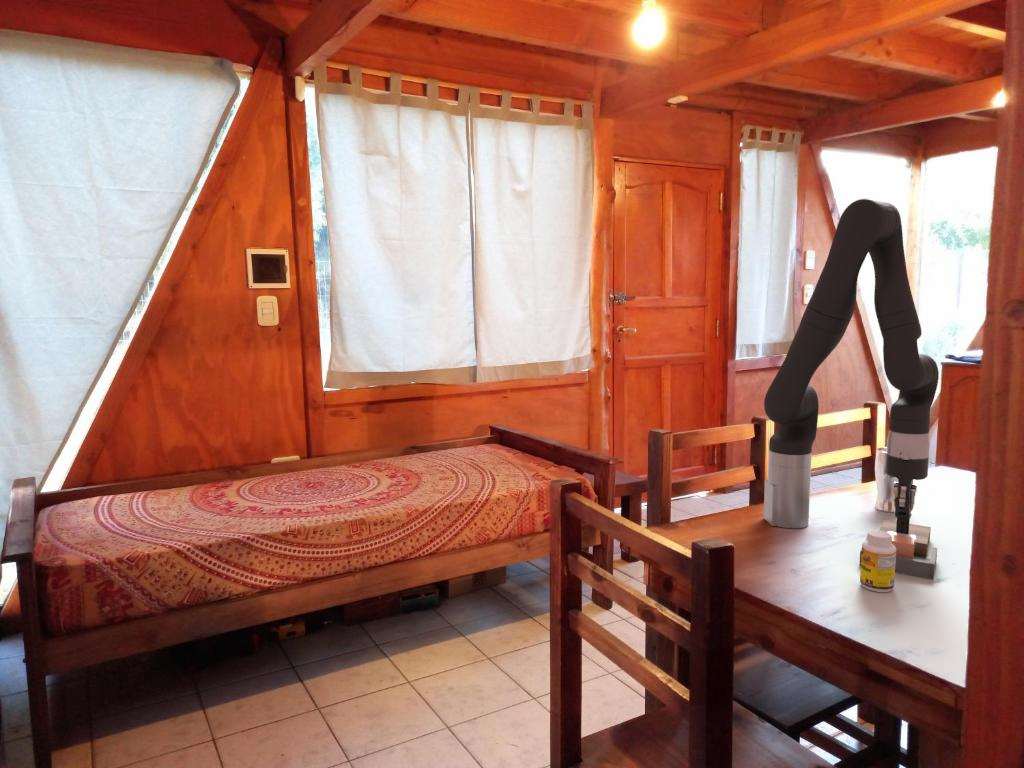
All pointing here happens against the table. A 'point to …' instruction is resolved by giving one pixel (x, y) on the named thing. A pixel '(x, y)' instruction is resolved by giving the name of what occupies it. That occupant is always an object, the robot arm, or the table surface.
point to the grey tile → (904, 535)
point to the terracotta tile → (904, 546)
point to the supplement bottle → (878, 562)
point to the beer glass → (884, 484)
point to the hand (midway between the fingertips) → (902, 535)
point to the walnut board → (919, 531)
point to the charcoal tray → (915, 565)
